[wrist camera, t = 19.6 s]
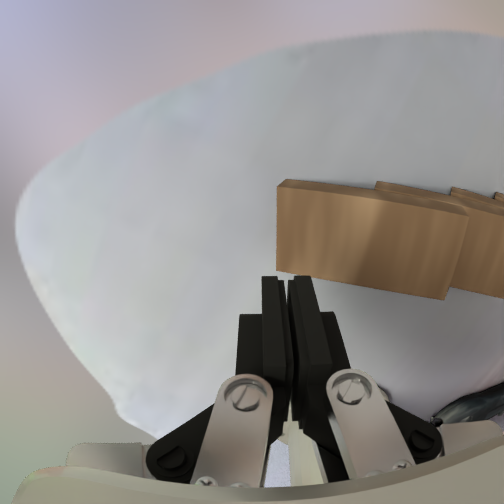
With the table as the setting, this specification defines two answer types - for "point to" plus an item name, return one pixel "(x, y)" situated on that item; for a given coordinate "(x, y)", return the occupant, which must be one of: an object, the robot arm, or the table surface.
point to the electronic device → (474, 407)
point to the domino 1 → (368, 237)
